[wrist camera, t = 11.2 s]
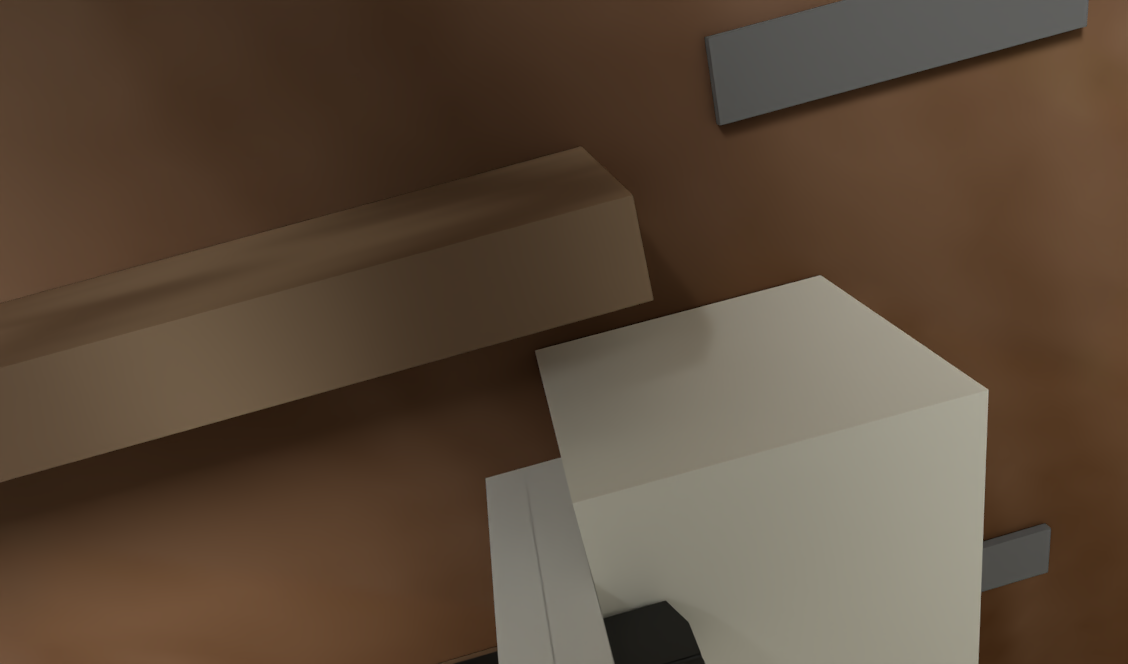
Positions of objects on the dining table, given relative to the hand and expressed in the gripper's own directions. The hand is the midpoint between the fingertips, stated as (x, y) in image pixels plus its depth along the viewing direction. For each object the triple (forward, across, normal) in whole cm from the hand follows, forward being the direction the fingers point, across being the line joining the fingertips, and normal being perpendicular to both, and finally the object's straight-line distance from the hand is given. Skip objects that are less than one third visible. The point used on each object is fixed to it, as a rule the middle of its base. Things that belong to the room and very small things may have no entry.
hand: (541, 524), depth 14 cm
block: (+2, +4, 0) cm, 4 cm away
